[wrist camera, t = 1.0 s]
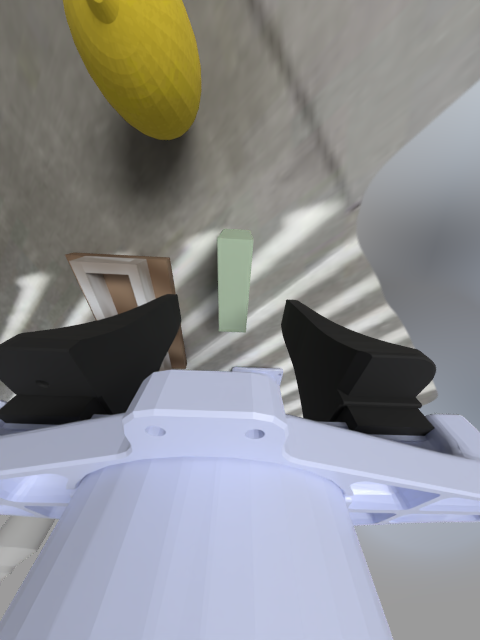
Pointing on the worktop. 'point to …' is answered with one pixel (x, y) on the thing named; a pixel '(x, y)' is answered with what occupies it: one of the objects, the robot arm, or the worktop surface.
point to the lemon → (141, 60)
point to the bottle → (20, 540)
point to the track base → (126, 289)
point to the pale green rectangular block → (234, 278)
